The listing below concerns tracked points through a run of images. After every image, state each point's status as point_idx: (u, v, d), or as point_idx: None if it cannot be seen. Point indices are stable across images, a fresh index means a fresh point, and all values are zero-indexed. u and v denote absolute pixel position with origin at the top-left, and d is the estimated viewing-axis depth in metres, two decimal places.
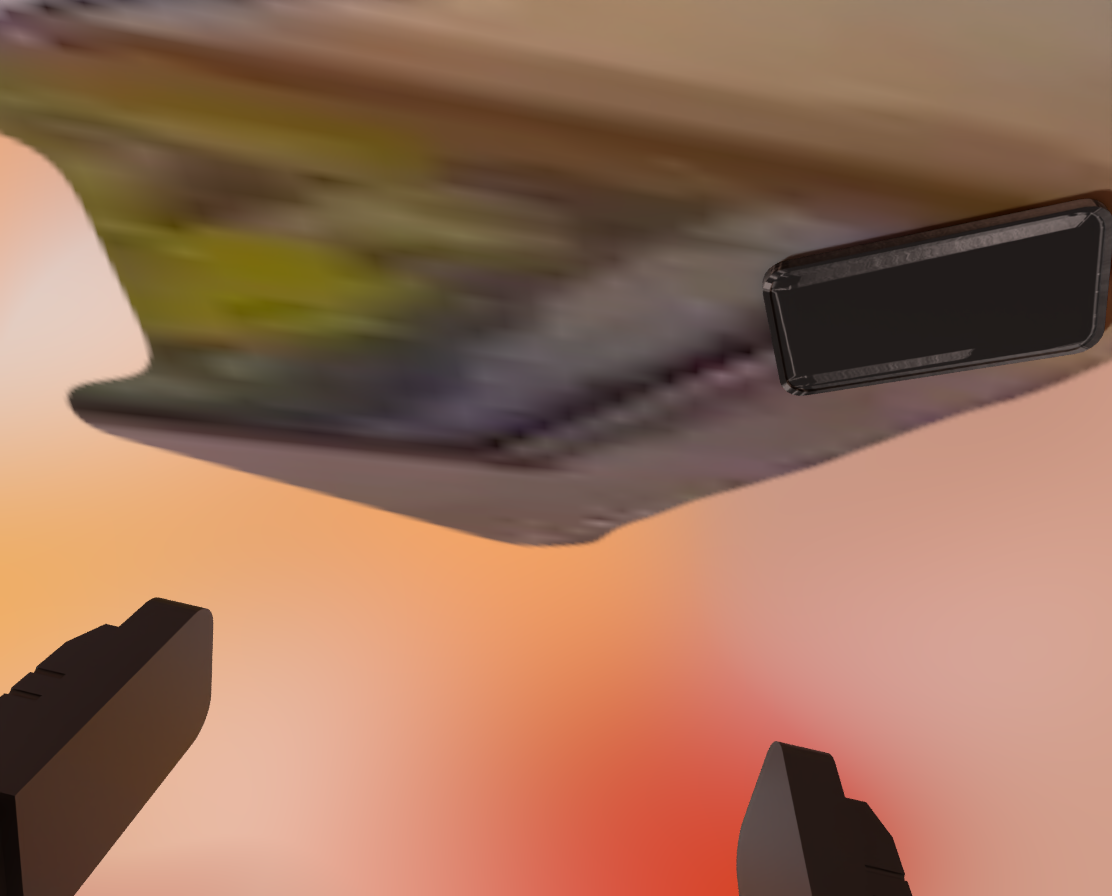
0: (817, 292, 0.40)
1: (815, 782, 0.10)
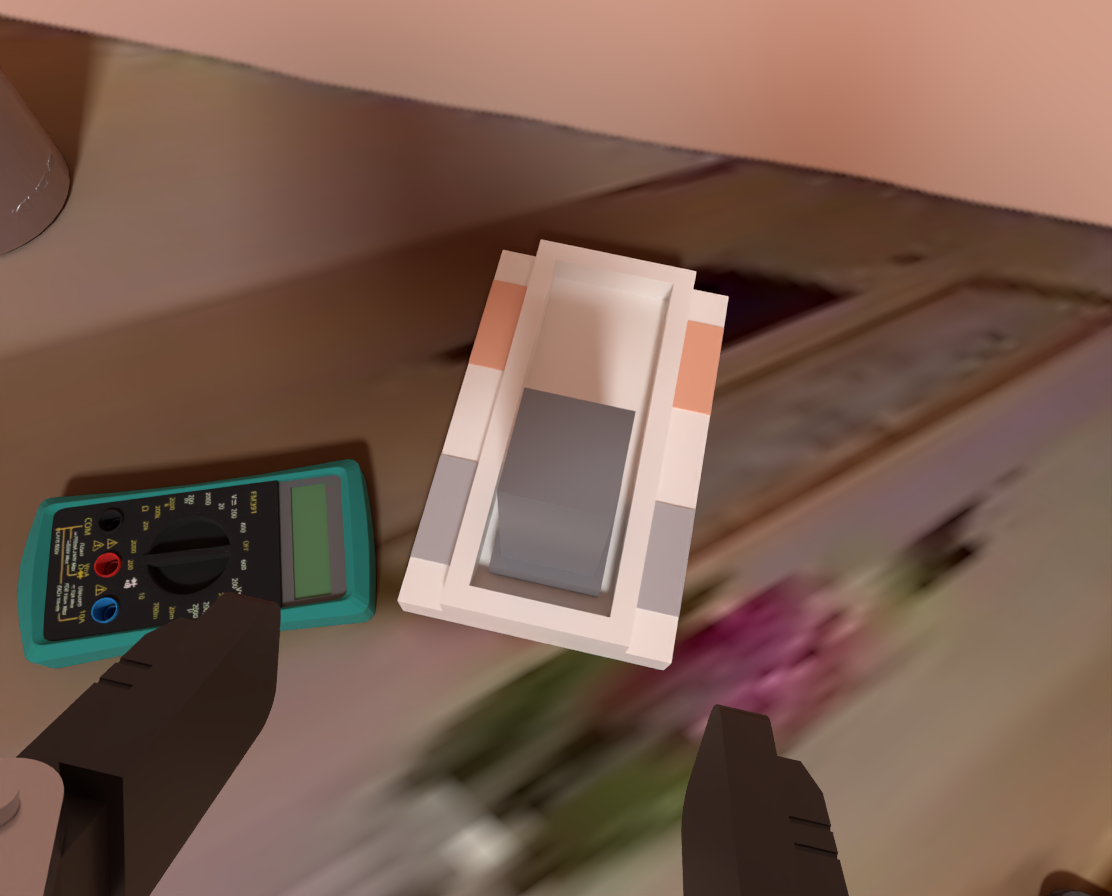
0: None
1: (749, 740, 0.10)
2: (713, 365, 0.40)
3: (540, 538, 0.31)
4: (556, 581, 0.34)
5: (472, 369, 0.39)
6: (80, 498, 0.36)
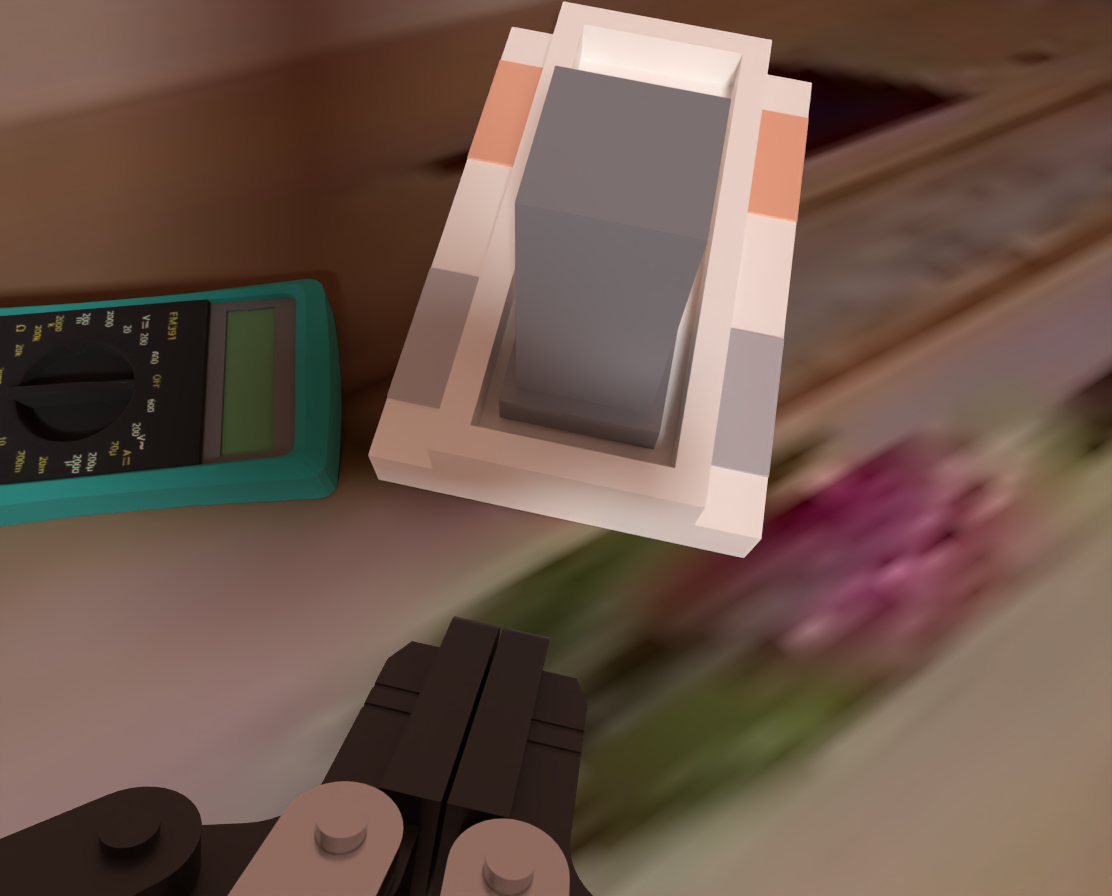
0: None
1: (520, 656, 0.11)
2: (797, 162, 0.30)
3: (577, 329, 0.20)
4: (595, 420, 0.24)
5: (473, 165, 0.29)
6: None
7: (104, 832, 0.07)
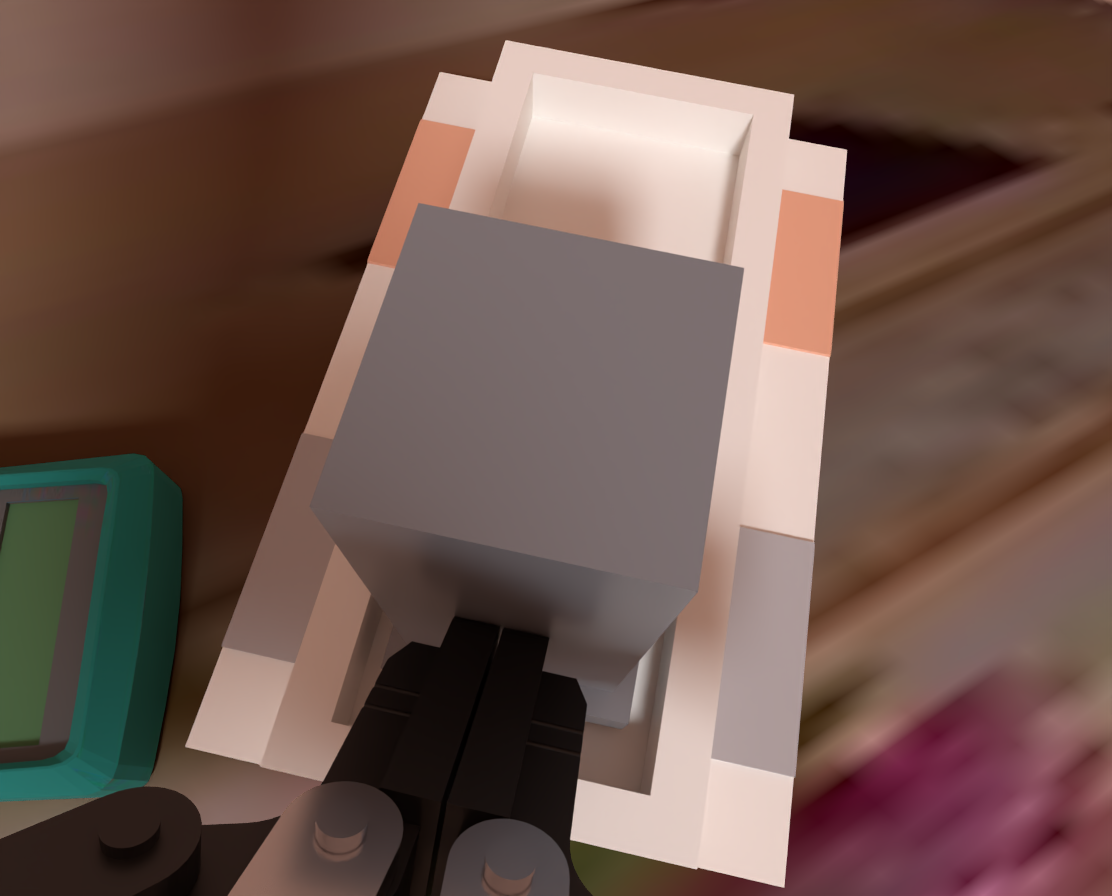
0: None
1: (520, 656, 0.11)
2: (829, 266, 0.21)
3: None
4: None
5: (374, 273, 0.21)
6: None
7: (104, 832, 0.07)
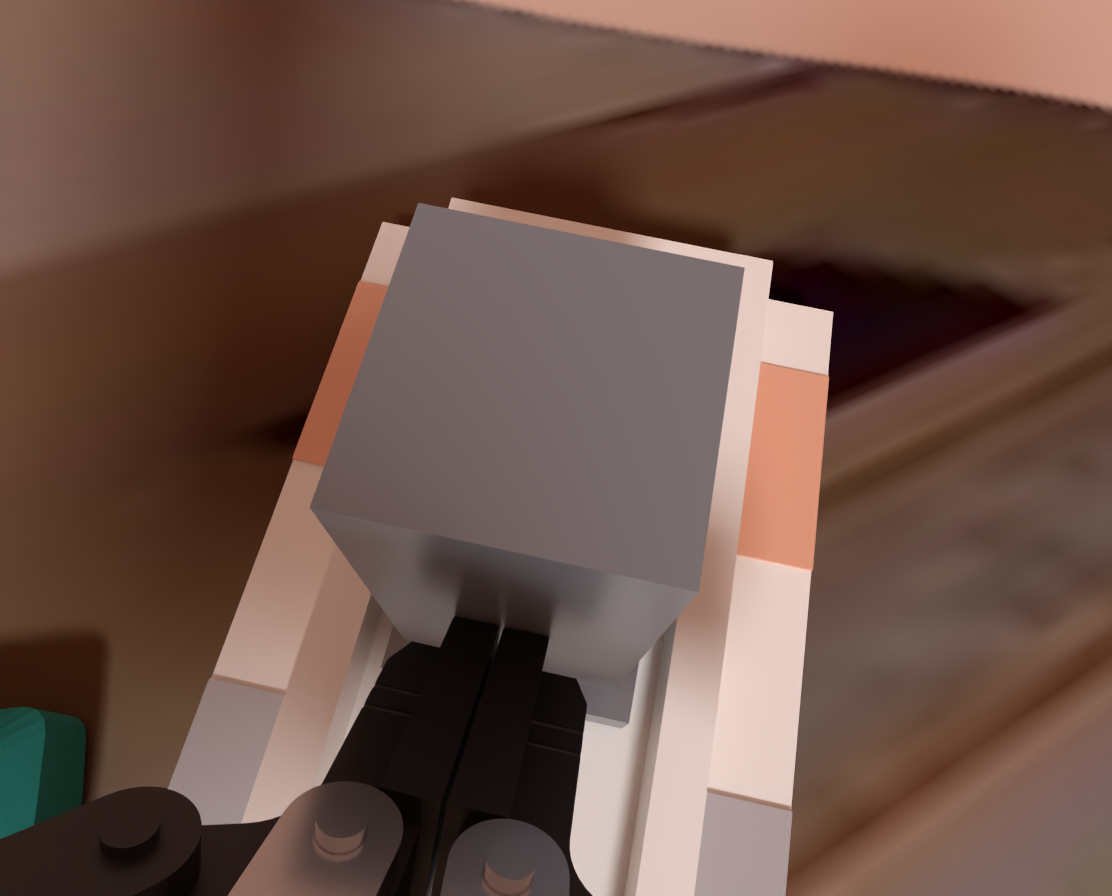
0: None
1: (520, 656, 0.11)
2: (812, 458, 0.19)
3: None
4: None
5: (300, 473, 0.18)
6: None
7: (104, 832, 0.07)
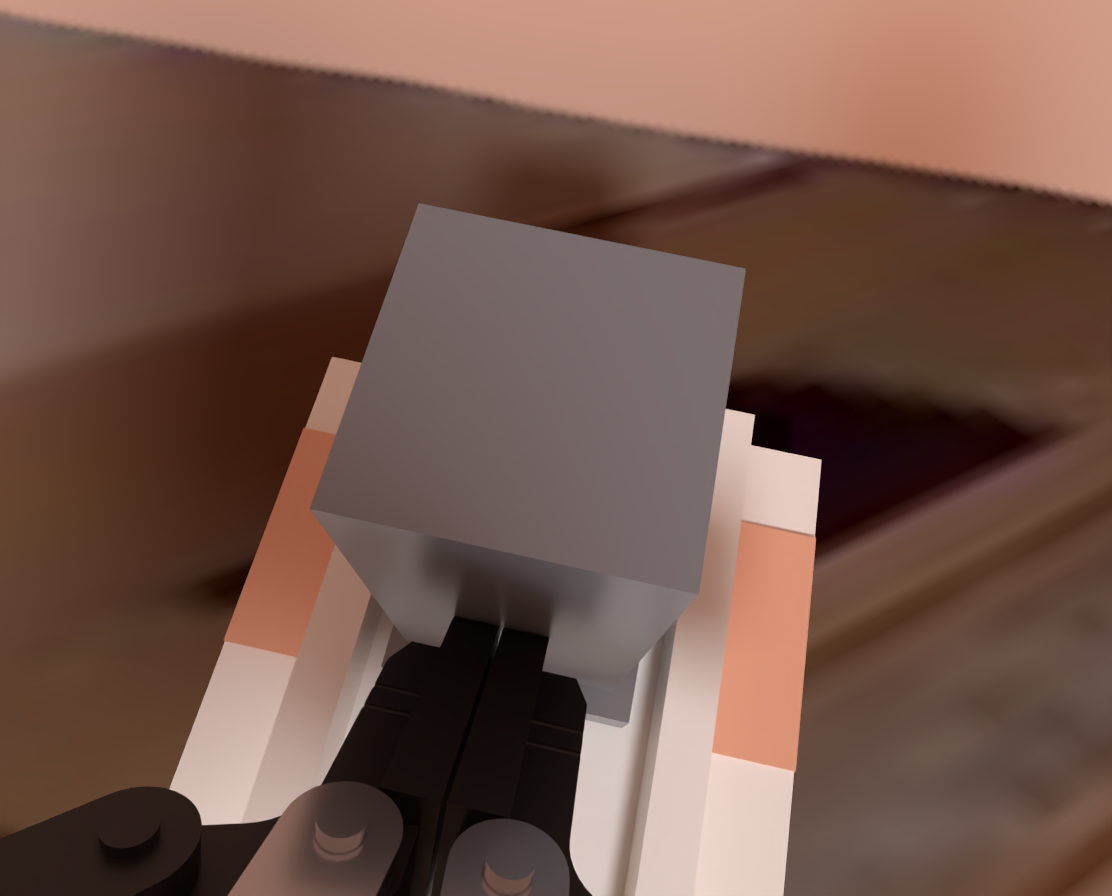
0: None
1: (520, 656, 0.11)
2: (796, 636, 0.17)
3: None
4: None
5: (231, 657, 0.17)
6: None
7: (104, 832, 0.07)
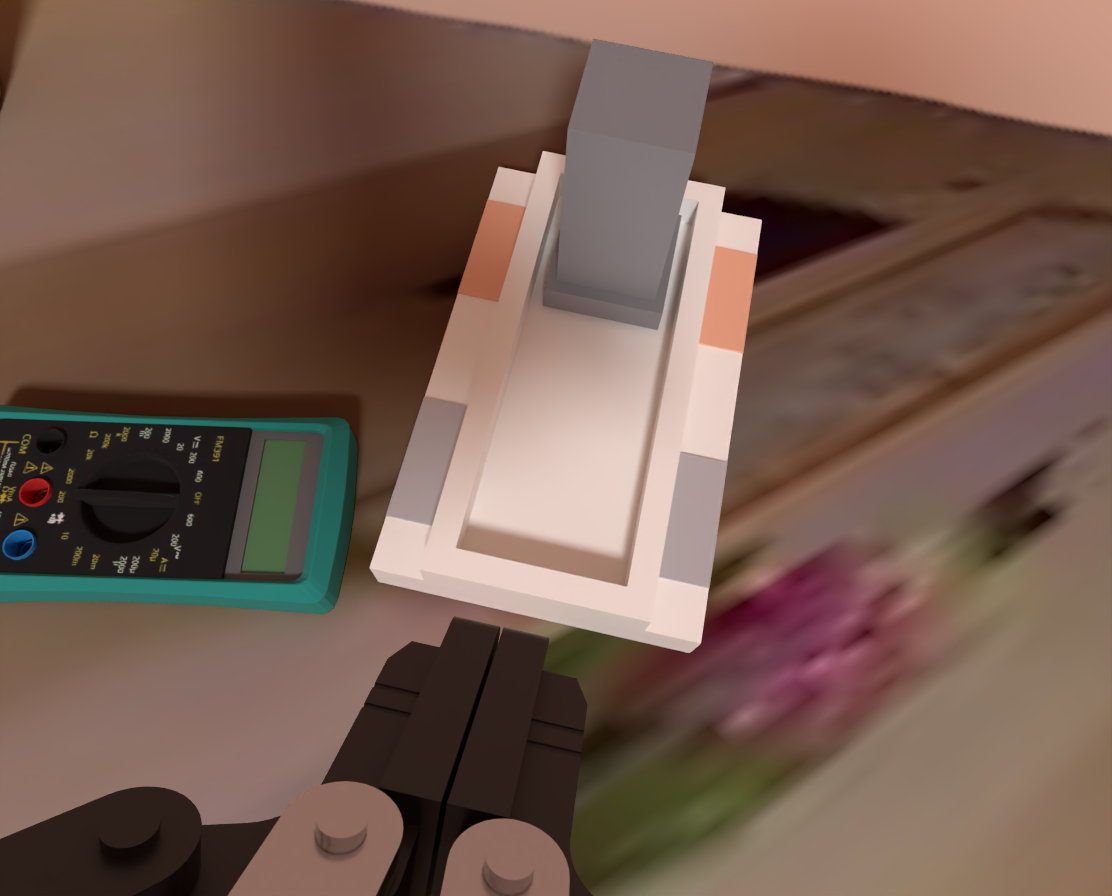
0: None
1: (520, 656, 0.11)
2: (745, 296, 0.34)
3: (605, 227, 0.29)
4: (615, 305, 0.32)
5: (462, 300, 0.33)
6: (24, 410, 0.31)
7: (104, 832, 0.07)
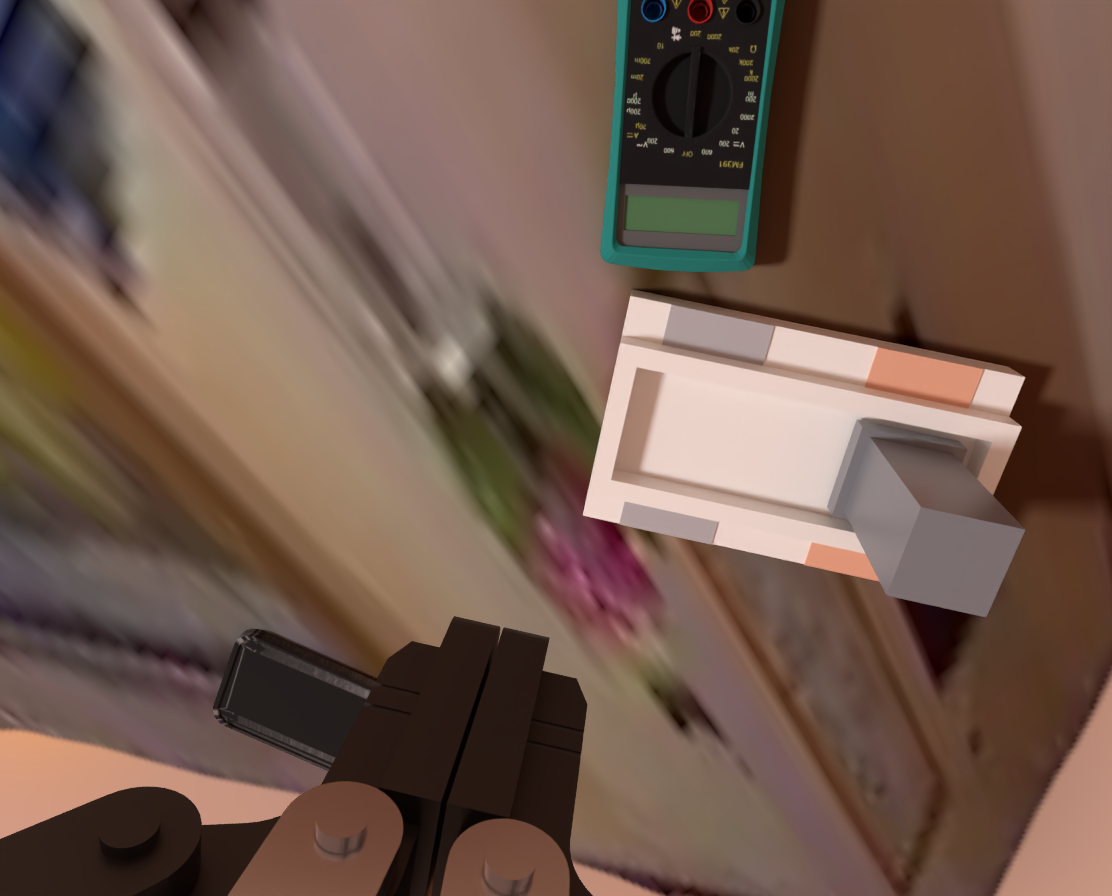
0: (270, 665, 0.51)
1: (520, 656, 0.11)
2: (856, 572, 0.42)
3: (879, 499, 0.35)
4: (843, 481, 0.39)
5: (870, 351, 0.38)
6: None
7: (104, 832, 0.07)
